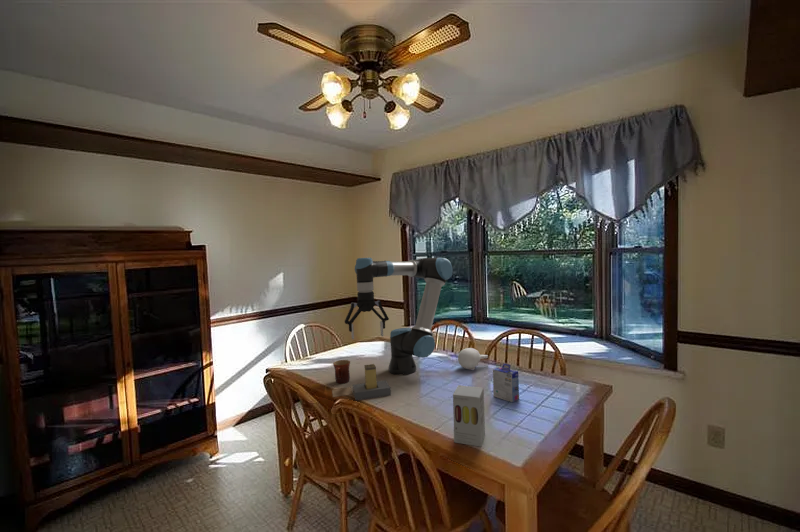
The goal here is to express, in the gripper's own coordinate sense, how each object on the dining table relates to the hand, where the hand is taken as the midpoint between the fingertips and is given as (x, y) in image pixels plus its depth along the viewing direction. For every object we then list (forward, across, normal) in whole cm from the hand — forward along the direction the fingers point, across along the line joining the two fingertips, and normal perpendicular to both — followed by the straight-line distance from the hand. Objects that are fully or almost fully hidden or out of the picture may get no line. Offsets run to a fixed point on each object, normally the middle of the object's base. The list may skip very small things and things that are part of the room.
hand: (367, 337), depth 167 cm
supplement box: (+27, -27, +50) cm, 63 cm away
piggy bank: (+27, -59, -17) cm, 67 cm away
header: (+27, -1, 0) cm, 27 cm away
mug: (+27, +12, -20) cm, 35 cm away
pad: (+27, +12, -6) cm, 30 cm away
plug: (+26, -1, 0) cm, 26 cm away
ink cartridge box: (+27, -56, +24) cm, 67 cm away
